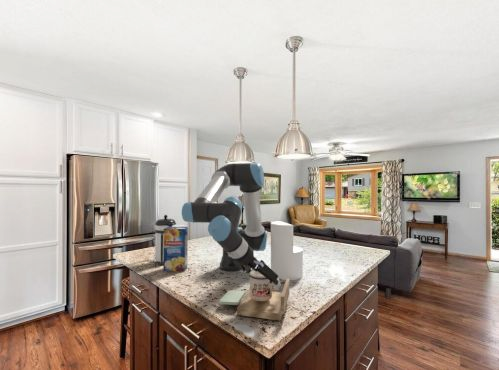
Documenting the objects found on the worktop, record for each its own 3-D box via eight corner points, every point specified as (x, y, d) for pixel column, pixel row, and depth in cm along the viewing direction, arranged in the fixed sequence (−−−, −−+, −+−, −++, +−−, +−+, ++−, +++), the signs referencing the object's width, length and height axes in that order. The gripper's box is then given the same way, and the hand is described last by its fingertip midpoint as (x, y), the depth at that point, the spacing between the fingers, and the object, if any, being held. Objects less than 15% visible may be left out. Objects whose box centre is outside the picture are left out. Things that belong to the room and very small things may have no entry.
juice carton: (163, 271, 140) (163, 228, 141) (167, 267, 148) (167, 226, 148) (184, 271, 141) (185, 228, 141) (187, 267, 148) (187, 226, 149)
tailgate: (245, 291, 105) (228, 290, 107) (237, 302, 95) (218, 301, 97) (245, 294, 105) (228, 294, 107) (237, 306, 95) (219, 305, 96)
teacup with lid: (249, 301, 93) (249, 270, 93) (248, 291, 102) (249, 263, 102) (281, 301, 93) (281, 270, 93) (278, 291, 102) (278, 263, 102)
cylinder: (277, 281, 126) (277, 225, 126) (266, 270, 142) (266, 221, 143) (308, 278, 130) (308, 224, 131) (294, 268, 147) (294, 220, 148)
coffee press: (181, 258, 166) (182, 213, 167) (171, 266, 150) (172, 216, 151) (156, 258, 168) (157, 213, 168) (144, 265, 152) (144, 215, 153)
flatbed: (289, 300, 104) (289, 278, 104) (284, 322, 86) (284, 296, 87) (249, 296, 108) (249, 275, 108) (236, 316, 91) (236, 291, 91)
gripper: (214, 253, 95) (244, 284, 106) (257, 266, 79) (287, 301, 90) (225, 237, 99) (253, 269, 110) (268, 247, 83) (295, 282, 94)
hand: (268, 283), depth 100 cm, fingers closed on teacup with lid, 10 cm apart
